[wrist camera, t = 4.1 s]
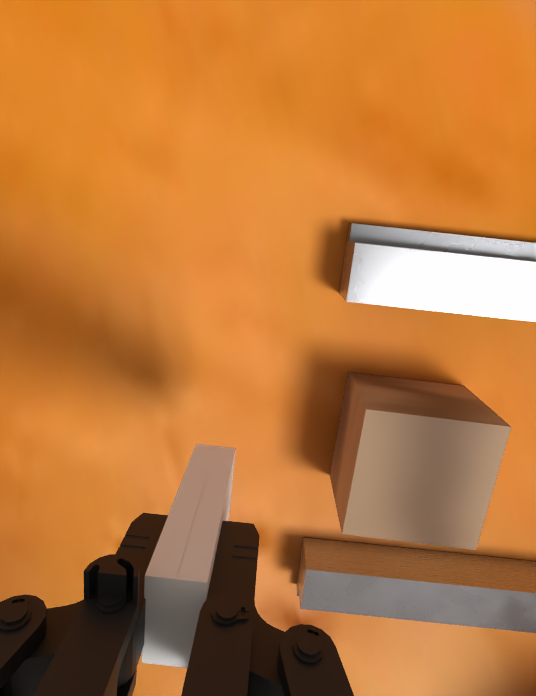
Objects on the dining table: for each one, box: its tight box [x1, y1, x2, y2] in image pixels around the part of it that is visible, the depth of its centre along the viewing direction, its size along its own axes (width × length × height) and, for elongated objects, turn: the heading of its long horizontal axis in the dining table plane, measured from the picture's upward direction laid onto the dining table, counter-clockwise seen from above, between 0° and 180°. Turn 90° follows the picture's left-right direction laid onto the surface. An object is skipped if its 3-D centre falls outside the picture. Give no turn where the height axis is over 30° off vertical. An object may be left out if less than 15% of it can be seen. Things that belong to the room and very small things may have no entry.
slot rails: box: [297, 223, 536, 633], centre depth 23 cm, size 16×21×2 cm
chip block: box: [330, 372, 511, 550], centre depth 22 cm, size 6×6×5 cm
